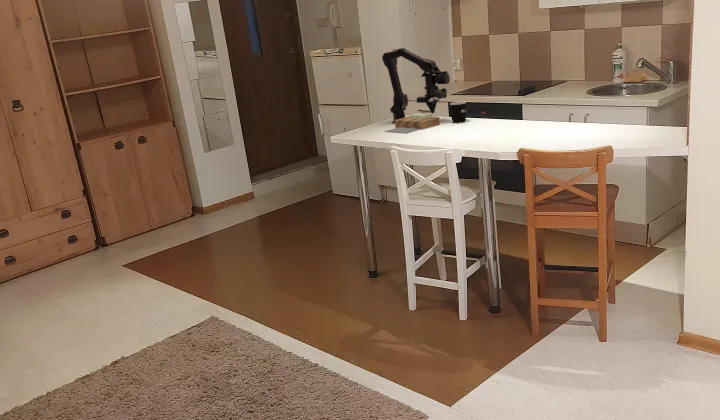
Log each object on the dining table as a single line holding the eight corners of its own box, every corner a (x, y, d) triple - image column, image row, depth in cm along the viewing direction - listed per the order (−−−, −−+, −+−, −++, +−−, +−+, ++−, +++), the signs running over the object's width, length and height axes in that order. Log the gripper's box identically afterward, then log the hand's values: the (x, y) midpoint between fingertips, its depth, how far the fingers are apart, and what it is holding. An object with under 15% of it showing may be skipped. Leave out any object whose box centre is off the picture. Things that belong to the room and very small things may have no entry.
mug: (462, 123, 351) (461, 104, 348) (447, 123, 356) (446, 104, 353) (473, 119, 360) (472, 100, 357) (458, 119, 365) (457, 100, 362)
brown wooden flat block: (395, 127, 361) (394, 120, 360) (413, 122, 370) (412, 115, 368) (422, 129, 346) (421, 121, 345) (439, 124, 355) (439, 117, 354)
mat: (384, 131, 352) (384, 131, 352) (399, 127, 359) (399, 127, 359) (405, 133, 340) (405, 132, 340) (420, 129, 347) (420, 128, 347)
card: (412, 118, 359) (411, 114, 359) (419, 116, 363) (419, 112, 362) (424, 119, 353) (424, 115, 352) (431, 117, 356) (431, 113, 356)
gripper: (430, 87, 347) (432, 116, 351) (453, 82, 358) (455, 110, 363) (414, 87, 355) (417, 115, 359) (438, 82, 367) (440, 110, 371)
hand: (432, 113), depth 363 cm, fingers closed
